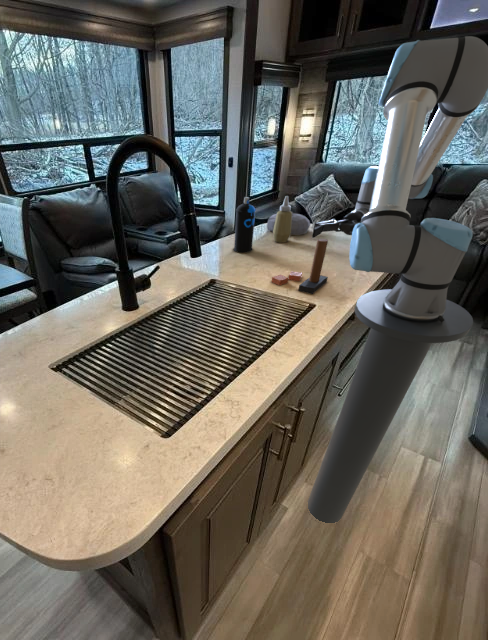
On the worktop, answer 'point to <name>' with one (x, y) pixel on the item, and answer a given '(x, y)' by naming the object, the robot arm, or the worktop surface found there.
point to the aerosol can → (244, 227)
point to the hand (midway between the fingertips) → (333, 236)
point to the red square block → (279, 279)
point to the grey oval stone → (297, 226)
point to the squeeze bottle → (283, 222)
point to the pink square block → (295, 276)
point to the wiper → (316, 270)
